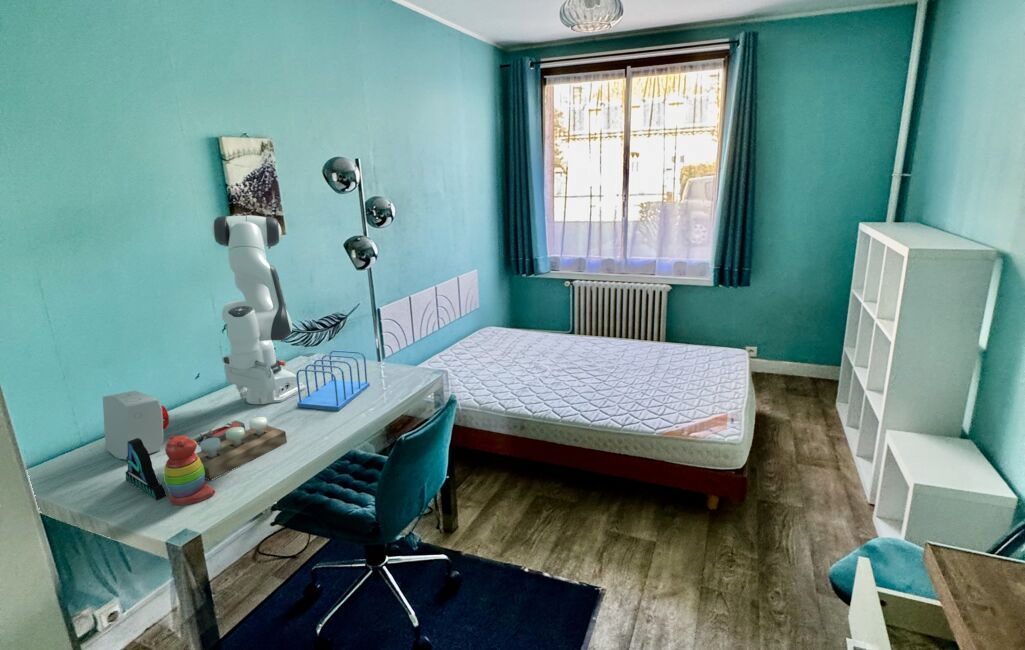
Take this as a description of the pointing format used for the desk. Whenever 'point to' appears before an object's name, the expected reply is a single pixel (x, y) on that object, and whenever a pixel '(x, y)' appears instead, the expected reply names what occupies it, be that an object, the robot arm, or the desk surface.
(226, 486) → the desk surface
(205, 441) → the grey knob
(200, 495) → the stacking bear
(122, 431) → the electrical switch box
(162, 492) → the decorative sign
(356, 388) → the file sorter
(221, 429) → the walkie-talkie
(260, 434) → the cream knob
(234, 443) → the sage knob
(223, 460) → the knob panel
